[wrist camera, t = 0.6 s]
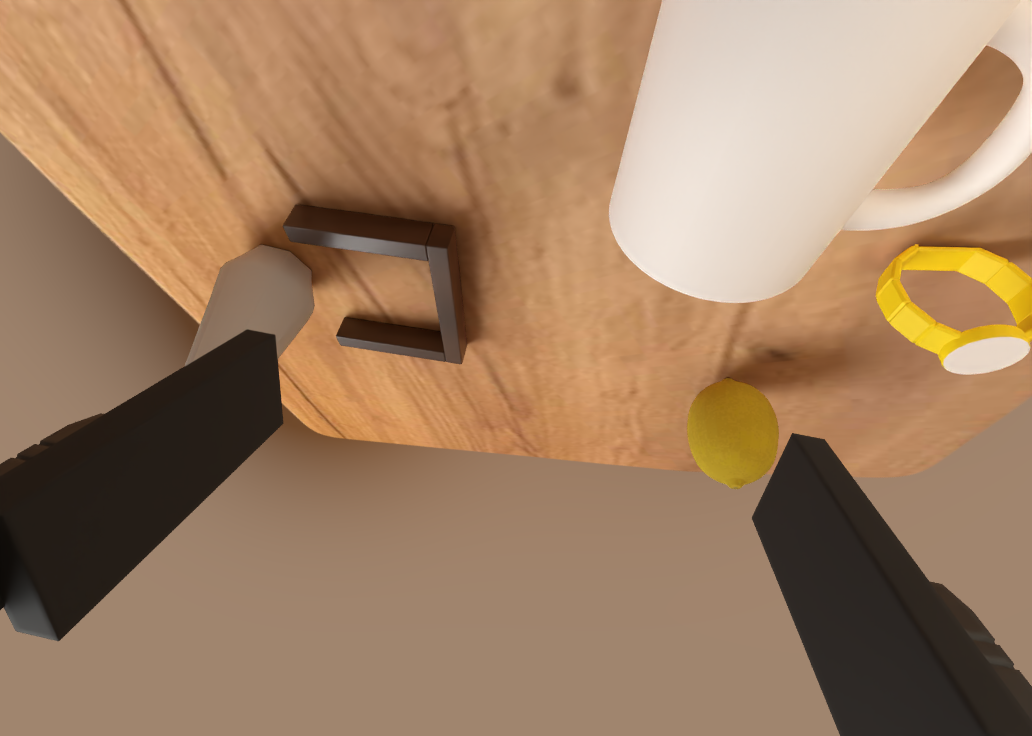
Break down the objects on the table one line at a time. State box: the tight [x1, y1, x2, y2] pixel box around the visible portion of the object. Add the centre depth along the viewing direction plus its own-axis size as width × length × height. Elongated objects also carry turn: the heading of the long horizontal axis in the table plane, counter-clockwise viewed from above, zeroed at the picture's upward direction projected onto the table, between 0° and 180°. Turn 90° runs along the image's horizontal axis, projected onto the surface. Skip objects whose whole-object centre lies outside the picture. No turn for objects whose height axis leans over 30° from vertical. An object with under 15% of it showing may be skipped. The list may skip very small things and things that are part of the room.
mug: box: [609, 0, 1032, 303], centre depth 15 cm, size 12×10×8 cm
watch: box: [876, 244, 1032, 374], centre depth 22 cm, size 6×3×6 cm, turn 92°
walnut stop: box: [283, 204, 467, 364], centre depth 32 cm, size 11×9×2 cm
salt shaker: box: [185, 245, 315, 366], centre depth 29 cm, size 6×6×13 cm
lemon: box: [687, 378, 779, 489], centre depth 33 cm, size 6×6×8 cm
